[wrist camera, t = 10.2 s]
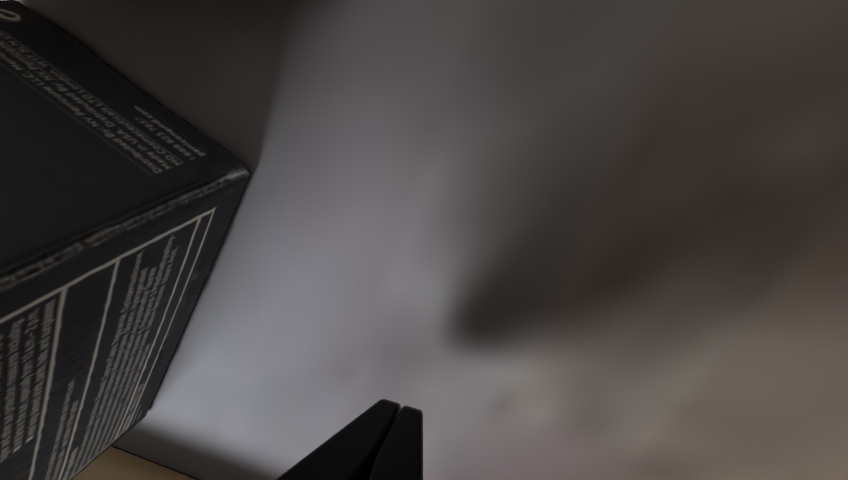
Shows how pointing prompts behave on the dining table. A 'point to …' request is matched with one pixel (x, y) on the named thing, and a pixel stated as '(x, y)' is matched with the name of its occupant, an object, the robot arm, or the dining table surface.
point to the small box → (92, 246)
